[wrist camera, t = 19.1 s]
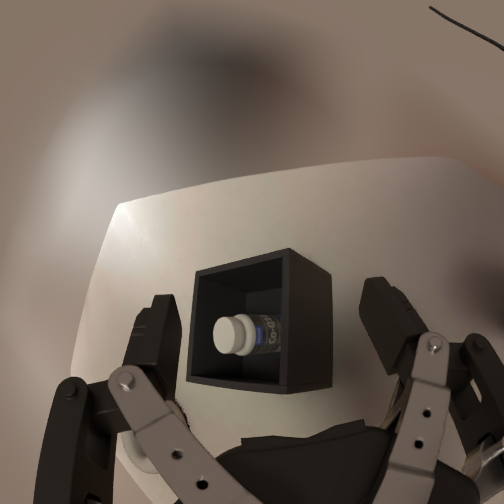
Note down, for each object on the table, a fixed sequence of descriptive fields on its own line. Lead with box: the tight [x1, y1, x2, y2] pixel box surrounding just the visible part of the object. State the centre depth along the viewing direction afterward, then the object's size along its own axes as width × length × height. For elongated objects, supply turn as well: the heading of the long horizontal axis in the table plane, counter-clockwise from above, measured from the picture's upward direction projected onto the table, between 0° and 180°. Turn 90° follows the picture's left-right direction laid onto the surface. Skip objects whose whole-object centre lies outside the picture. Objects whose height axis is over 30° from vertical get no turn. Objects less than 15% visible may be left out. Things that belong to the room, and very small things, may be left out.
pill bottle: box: [213, 314, 282, 356], centre depth 32 cm, size 5×5×8 cm
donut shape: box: [121, 400, 188, 474], centre depth 41 cm, size 15×15×7 cm
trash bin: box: [186, 248, 333, 394], centre depth 32 cm, size 14×14×10 cm
